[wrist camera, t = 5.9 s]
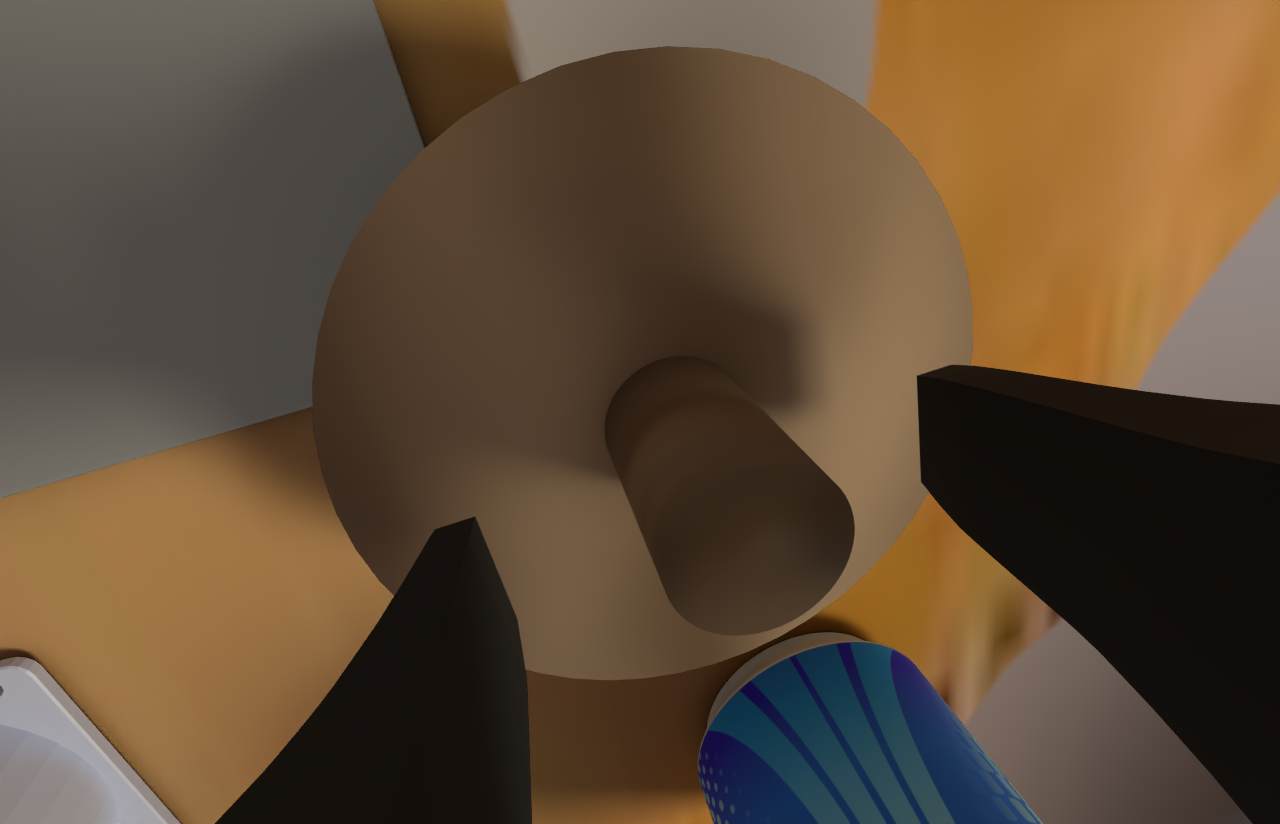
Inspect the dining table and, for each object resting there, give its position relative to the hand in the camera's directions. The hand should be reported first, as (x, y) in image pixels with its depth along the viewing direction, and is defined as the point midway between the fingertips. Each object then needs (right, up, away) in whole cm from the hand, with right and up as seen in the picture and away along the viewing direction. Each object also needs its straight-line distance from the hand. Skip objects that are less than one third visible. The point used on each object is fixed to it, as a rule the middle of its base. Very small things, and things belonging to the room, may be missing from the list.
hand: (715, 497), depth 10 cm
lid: (-1, +1, +2) cm, 3 cm away
